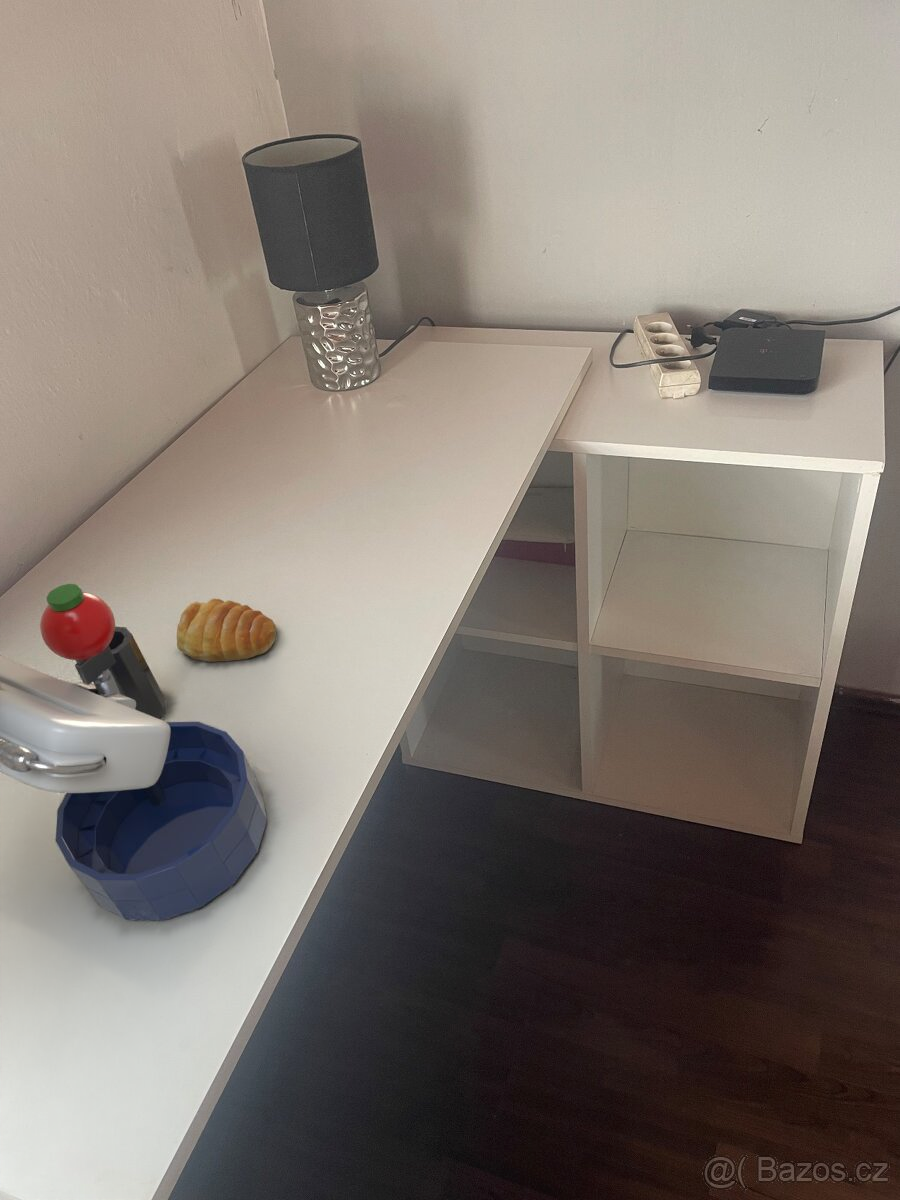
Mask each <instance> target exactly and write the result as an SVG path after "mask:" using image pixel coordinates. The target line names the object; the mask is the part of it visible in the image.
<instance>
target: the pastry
mask: <svg viewBox="0 0 900 1200" xmlns="http://www.w3.org/2000/svg"><path fill="white" fill-rule="evenodd" d="M276 633H277V626H276V624H275V622H274V620H273V619H271V618H270V617H268V616H266V615H264V614H263V613H262V611H260V610H254V609H253V608H252V607H250V606H249V605H248V604H242V603H239V602H236V601H233V600H229V599H228V600H226V601H225V600H222V599H219V598H211V599H210V600H208V601H207V602H199V601H194V602H191V603H190V604H189V605H187V606H186V607H185V609H184V610H183V612H182V613H181V614H180V617H179V622H178V624H177V628H176V646H177V649H178V650H179V651H180V652H182V653H183V654H185V655H187V656H189V657H190V658H192V659H194V660H195V661H197V660H201V661H205V662H206V663H207V662H209V663H210V662H217V663H218V662H231V661H237V662H238V661H240V660H247V659H251V658H254V657H256V656H259V655H262V654H265V653H267V651H269V650H270V649H271V647H272V645H274V642H275V640H276Z"/></svg>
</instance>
